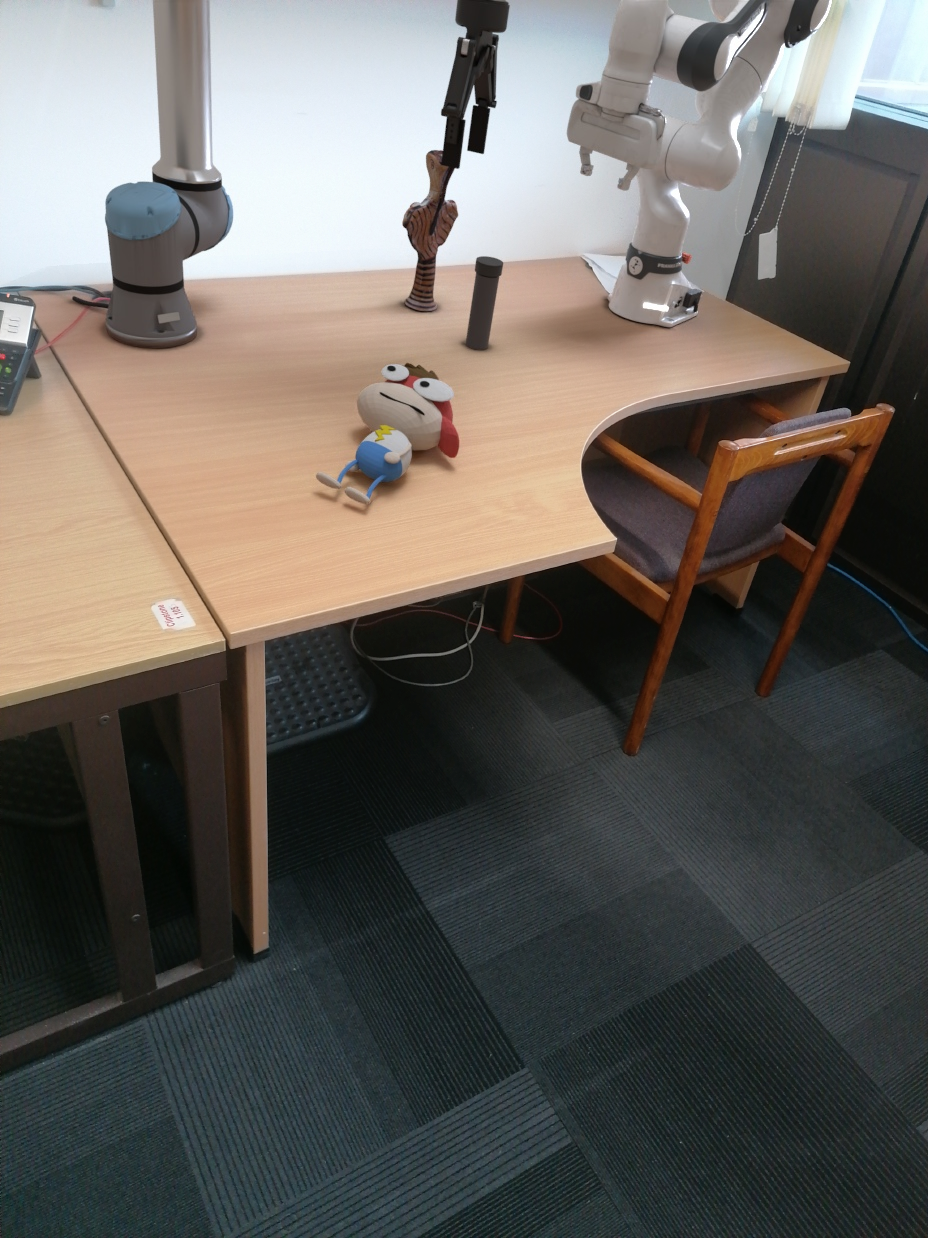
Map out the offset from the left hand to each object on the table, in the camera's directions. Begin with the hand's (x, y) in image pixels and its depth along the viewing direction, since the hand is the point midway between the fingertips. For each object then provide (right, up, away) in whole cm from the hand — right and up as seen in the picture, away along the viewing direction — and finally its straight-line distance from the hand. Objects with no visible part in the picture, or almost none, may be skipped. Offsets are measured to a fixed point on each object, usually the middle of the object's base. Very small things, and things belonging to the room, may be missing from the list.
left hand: (463, 159), depth 139 cm
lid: (+5, -6, +25) cm, 27 cm away
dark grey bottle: (+3, -18, +35) cm, 40 cm away
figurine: (-9, -6, +48) cm, 49 cm away
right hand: (+26, +9, +25) cm, 38 cm away
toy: (-11, -48, -5) cm, 50 cm away
